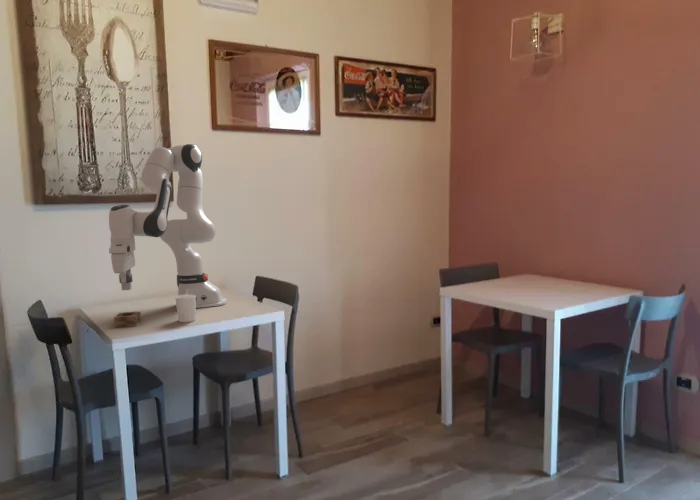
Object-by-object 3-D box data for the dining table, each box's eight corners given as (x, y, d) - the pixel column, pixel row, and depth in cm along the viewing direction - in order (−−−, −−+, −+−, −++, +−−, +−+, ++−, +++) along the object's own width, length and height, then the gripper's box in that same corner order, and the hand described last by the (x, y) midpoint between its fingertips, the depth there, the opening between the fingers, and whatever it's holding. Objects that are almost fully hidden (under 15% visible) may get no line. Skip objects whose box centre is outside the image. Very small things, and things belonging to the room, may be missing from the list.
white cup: (179, 318, 233) (177, 294, 232) (198, 317, 234) (197, 293, 233) (175, 323, 226) (173, 298, 224) (195, 322, 226) (193, 297, 225)
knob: (134, 288, 227) (133, 273, 227) (131, 290, 223) (130, 274, 222) (121, 288, 227) (120, 273, 226) (118, 290, 222) (117, 275, 221)
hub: (140, 321, 231) (140, 311, 231) (136, 326, 223) (135, 315, 223) (120, 322, 230) (119, 312, 230) (115, 327, 222) (114, 317, 222)
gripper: (121, 244, 232) (124, 277, 234) (107, 249, 212) (110, 286, 214) (137, 243, 233) (140, 276, 235) (125, 249, 213) (128, 285, 215)
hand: (126, 281), depth 224 cm, fingers closed on knob, 5 cm apart
